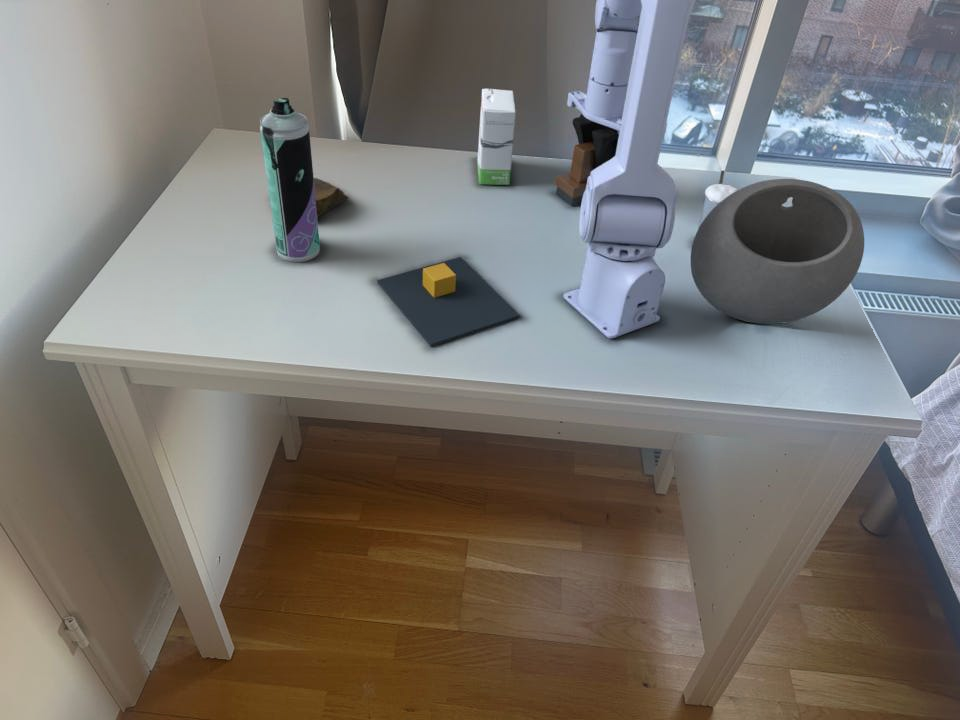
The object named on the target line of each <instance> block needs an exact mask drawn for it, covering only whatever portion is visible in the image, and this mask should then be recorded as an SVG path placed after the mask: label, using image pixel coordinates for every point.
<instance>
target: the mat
mask: <svg viewBox="0 0 960 720" xmlns="http://www.w3.org/2000/svg"><path fill="white" fill-rule="evenodd" d="M441 263H445V264H446V265H447V266H448V267H449V268H450V269H451V270H452V271H453V272H454V273H455V274H456V286H455V292H452V293H449V294H445V295H442V296H439V297H436V298H434V297H433V296H432V295H431V294H430V293H429V292H428V291H427V289H426V288H425V287H424V286H423V269H424V268H427V267H431V266H434V265H438V264H441ZM376 283H377V284H378V285H379V287H380V288H381V289H382V290H383V291H384V293H385V294H386V295H387V296H388V298H390V300H391V301H392V302H393V303H394V305H395V306H396V307H397V308H398V309H399V310H400V312H401V313H402V314H403V316H404V317H405V318H406V319H407V320H408V321H409V323H410V324H411V325H412V326H413V327H414V329H415V330H416V331H417V332H418V333H419V335H420V336H421V337H422V339H424V341H425V342H426V343H427V344H428V346H429V347H430V348H431V347H435V346H438V345H440V344H444V343H447V342H449V341H453V340H456V339H459V338H462V337H465V336H467V335H471V334H474V333H477V332H479V331H480V332H481V331H484V330H486V329H489V328H493V327H495V326H497V325H502V324H504V323H507V322H510V321H513V320H516V319H519V318H520V314H519V313H518V312H517V311H516V310H515V309H514V308H513V307H512V306H511V305H510V304H509V303H508V302H507V301H506V300H505V299H504V298H503V297H502V296H501V295H500V294H499V293H498V292H497V291H496V290H494V288H493V287H492V286H491V285H489V283H488V282H487V281H485V280H484V278H483V277H482V276H481V275H480V274H479V273H477V271H475V269H473V268H472V266H470V265H469V263H467V261H466V260H464V258H462V257H461V256H459V257H455V258H452V259H448V260H444V261H440V262H437V263H433V264H430V265H425V266H423V267H419V268H416V269H412V270H408V271H405V272H401V273H397V274H394V275H391V276H387V277H383V278H380V279H377V280H376Z"/></svg>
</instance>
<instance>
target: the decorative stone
mask: <svg viewBox="0 0 960 720" xmlns="http://www.w3.org/2000/svg"><path fill="white" fill-rule="evenodd" d="M313 178H314V189H315V200H316V211H317V218H318V217H319V216H320V215H321V214H323V213H325V212H327V211H328V210H330V209H332V208H334V207H336V206H338V205H340V204H341V203H343V202H345V201H347V200H348V198H349V196H347V194H345V192H344V191H343V190H342V189H340V188H339V187H337V186H335V185H333V184H331V183H329V182H327V181H324V180H322V179H320V178H317V177H313Z"/></svg>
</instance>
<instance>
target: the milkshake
mask: <svg viewBox="0 0 960 720" xmlns="http://www.w3.org/2000/svg"><path fill="white" fill-rule="evenodd" d="M724 177H725V170H720V176H719V181H718V183H714V184H711V185H710V186H708V187H706V189H705V191H704V196H703V202H702V207H701V213H700V217H699V223H698V227H697V230H698V229H699V227H700V225H701V224H702V222H703V220H704V219H705V218H706V216H707V215H708V214H709V213H710V212H711V211H712V209H713V208H714V207H715V206H717V205H718V204H719V203H720V202H721V201H722V200H724V199H725V198H726V197H728V196H729V195H731V194H732V193H734V192H736V191H737V190H739V189H738V188H737V187H733V186H731V185H729V184H724V183H723V182H724Z"/></svg>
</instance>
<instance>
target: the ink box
mask: <svg viewBox="0 0 960 720" xmlns="http://www.w3.org/2000/svg"><path fill="white" fill-rule="evenodd" d="M480 99H481V100H480V114H479V126H478V127H479V128H478V129H479V130H478V131H479V132H478V146H477V160H476V161H477V174H478V183H479V185H492V186H493V185H494V186H504V185H505V186H509V185H510V184H511V183H510V182H511V172H512V163H513V150H514V149H513V148H514V137H515V126H516V125H515V124H516V115H517V114H516V113H517V112H516V104H515V96H514V91H513V90H509V89H495V88H482V89H481V98H480Z"/></svg>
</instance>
